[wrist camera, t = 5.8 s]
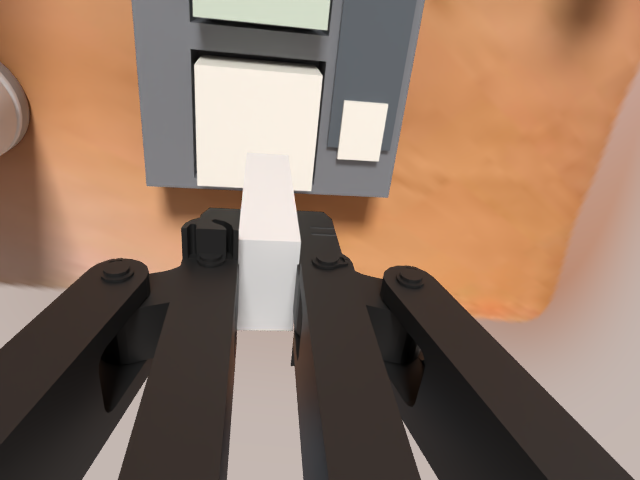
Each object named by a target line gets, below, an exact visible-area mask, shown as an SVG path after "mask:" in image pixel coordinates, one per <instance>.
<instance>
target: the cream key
mask: <svg viewBox="0 0 640 480" xmlns="http://www.w3.org/2000/svg"><path fill="white" fill-rule="evenodd" d="M194 75H195V114H196V153H197V186H213V187H234V188H243V185H244V175H245V165H246V155H247V153H262V154H278V155H288V156H289V163H290V170H291V177H292V184H293V190H295V191H311V188H312V178H313V168H314V158H315V148H316V138H317V128H318V118H319V108H320V98H321V88H322V78H323V75H322V74H321V73H320V71H319V70H318V68H317V67H316V66H315V65H310V64H299V63H288V62H277V61H266V60H255V59H244V58H234V57H223V56H212V55H201V56H200V58H199V59H198V60H197V62H196V63H195V64H194Z"/></svg>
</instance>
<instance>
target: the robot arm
mask: <svg viewBox="0 0 640 480" xmlns="http://www.w3.org/2000/svg"><path fill="white" fill-rule="evenodd" d="M181 233H182V256H183V259H182V262H181V266H179V267H177V268H174V269H172V270H168V271H164V272H158V273H152V274H149V271H148V268H147V266H146V265H145V264H143V263H142V262H140V261H137V260H133V259H123V258H118V259H111V260H107V261H104V262H101V263H99V264H96V265H95V266H93V267H92V268H90V269H89V270H88V271H87V272H85V273H84V274H83V275H82V276H81V277H80V278H79V279H78V280H77V281H75V282H74V283H73V284H72V285H71V286H70V287H69V288H68V289H66V290H65V291H64V292H63V293H62V294H61V295H60V296H59V297H58V298H57V299H55V300H54V301H53V302H52V303H51V304H50V305H49V306H48V307H47V308H45V309H44V310H43V311H42V312H41V313H40V314H39V315H38V316H36V317H35V318H34V319H33V320H32V321H31V322H30V323H29V324H28V325H26V326H25V327H24V328H23V329H22V330H21V331H20V332H19V333H18V334H16V335H15V336H14V337H13V338H12V339H11V340H10V341H9V342H7V343H6V344H5V345H4V346H3V347H2V348H1V349H0V480H82V479H83V477H84V475H85V474H86V472H87V471H88V469H89V468H90V466H91V465H92V463H93V461H94V460H95V458H96V457H97V455H98V454H99V452H100V450H101V449H102V447H103V446H104V444H105V443H106V441H107V440H108V438H109V436H110V435H111V433H112V431H113V430H114V428H115V427H116V425H117V424H118V422H119V421H120V419H121V418H122V416H123V414H124V413H125V411H126V410H127V408H128V407H129V405H130V404H131V402H132V400H133V399H134V397H135V396H136V394H137V392H138V391H139V389H140V388H141V386H142V385H143V383H144V382H145V380H146V378H147V377H148V379H147V382H146V385H145V389H144V392H143V396H142V399H141V402H140V406H139V409H138V413H137V416H136V420H135V423H134V427H133V430H132V434H131V437H130V440H129V443H128V447H127V451H126V454H125V457H124V461H123V464H122V468H121V471H120V474H119V478H118V480H227V469H228V455H229V440H230V426H231V413H232V399H233V385H234V372H235V357H236V344H237V330H249V331H259V330H260V331H293V323H294V338H293V348H292V360H291V366H295V376H296V388H297V402H298V415H299V428H300V440H301V453H302V466H303V479H304V480H421V478H420V475H419V472H418V469H417V466H416V463H415V459H414V456H413V453H412V450H411V447H410V444H409V440H408V437H407V434H406V431H405V428H404V425H403V422H404V423H405V425H406V426H407V428H408V430H409V431H410V433H411V435H412V436H413V438H414V440H415V441H416V443H417V445H418V446H419V448H420V450H421V451H422V453H423V455H424V456H425V458H426V459H427V461H428V463H429V464H430V466H431V468H432V469H433V471H434V473H435V474H436V476H437V478H438V479H439V480H634V479H633V478H632V477H631V476H630V475H629V474H628V473H627V472H626V471H625V470H624V469H623V468H622V467H621V466H620V465H619V464H618V463H617V462H616V461H615V460H614V459H613V458H612V457H611V456H610V455H609V454H608V453H607V452H606V451H605V450H604V449H603V448H602V447H601V445H600V444H598V443H597V441H596V440H595V439H593V437H592V436H591V435H590V434H589V433H588V432H587V431H586V430H584V429H583V428H582V426H581V425H580V424H579V423H578V422H577V421H576V420H575V419H574V418H573V417H572V416H571V415H570V414H569V413H568V412H567V411H566V410H565V409H564V408H563V407H562V406H561V405H560V404H559V403H558V402H557V401H556V400H555V399H554V398H553V397H552V396H551V395H550V394H549V393H548V392H547V391H546V390H545V389H544V388H543V387H542V386H541V385H540V384H539V383H538V382H537V381H536V380H535V379H534V378H533V377H532V376H531V375H530V374H529V373H528V372H527V371H526V370H525V369H524V368H523V367H522V366H521V365H520V364H519V363H518V362H517V361H516V360H515V359H514V358H513V357H512V356H511V355H510V354H509V353H508V352H507V351H506V350H505V349H504V348H503V347H502V346H501V345H500V344H499V343H498V342H497V341H496V340H495V339H494V338H493V337H492V336H491V335H490V334H489V333H488V332H487V331H486V330H485V329H484V328H483V327H482V326H481V325H480V324H479V323H478V322H477V321H476V320H475V319H474V318H473V317H472V316H471V315H470V314H469V313H468V312H467V311H466V310H465V309H464V308H463V307H462V306H461V305H460V304H459V303H458V302H457V301H456V300H455V299H454V297H453V296H452V295H451V294H450V293H449V292H448V291H447V290H446V289H445V288H444V287H443V286H442V285H441V284H440V283H439V282H438V281H437V280H436V279H435V278H434V277H432V276H431V275H430V274H428V273H427V272H425V271H423V270H420V269H418V268H416V267H411V266H395V267H391V268H389V269H387V270H386V271H385V272H384V276H383V279H380V278H375V277H370V276H367V275H363V274H360V273H358V272H356V271H355V270H354V266H353V263H352V262H351V260H350V259H349V258H348V257H346V256H345V255H343V254H342V253H341V249H340V246H339V242H338V239H337V236H336V232H335V229H334V225H333V222H332V219H331V218H330V217H328V216H327V215H326V214H325V213H324V212H313V211H296V204H295V197H294V191H293V184H292V177H291V170H290V163H289V156H288V155H278V154H262V153H247V155H246V165H245V175H244V185H243V194H242V204H241V209H224V208H209V209H208V210H206V211H205V212H204V213H203V214H201V217H200V218H197V219H193V220H191V221H189V222H187V223H185V224H184V225H183V226H182V228H181ZM402 420H403V422H402Z"/></svg>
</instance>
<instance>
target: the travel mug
mask: <svg viewBox="0 0 640 480" xmlns="http://www.w3.org/2000/svg"><path fill="white" fill-rule="evenodd" d="M29 114H30V112H29V106H28V101H27V98H26V96H25V93H24V91H23V89H22V87H21V85H20V84H19V82H18V80H17V79H16V78H15V77H14V75H13V74H12V73H11V72H10V70H9V69H8V68H6V67H5V66H4V65H3V64H2V63H1V62H0V156H1V155H2V154H4V153H5V152H7V151H8V150H10V149H11V148H13V147H14V146H15V145H16V144H18V143H19V142H20V141H21V140H22V138H23V136H24V135H25V133H26V131H27V128H28V124H29Z"/></svg>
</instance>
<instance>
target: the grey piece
mask: <svg viewBox="0 0 640 480" xmlns="http://www.w3.org/2000/svg"><path fill="white" fill-rule="evenodd" d="M424 2H425V0H330V8H329V18H328V28H327V30H318V29H309V28H299V27H289V26H280V25H270V24H260V23H251V22H241V21H231V20H222V19H212V18H202V17H193V0H132V11H133V24H134V36H135V48H136V60H137V73H138V85H139V97H140V110H141V122H142V134H143V146H144V159H145V171H146V183H147V186H156V187H177V188H198V189H218V190H239V191H243V188H234V187H213V186H197V153H196V114H195V75H194V64H195V63H196V62H197V60H198V59H199V58H200V56H201V55H212V56H223V57H234V58H244V59H255V60H266V61H277V62H288V63H299V64H310V65H315V66H316V67H317V68H318V70H319V71H320V73H321V74H322V75H323V78H322V88H321V98H320V108H319V118H318V128H317V138H316V148H315V158H314V168H313V178H312V188H311V191H295V190H293V191H294V193H302V194H322V195H343V196H364V197H385V198H388V195H389V190H390V184H391V179H392V174H393V168H394V163H395V157H396V152H397V147H398V141H399V136H400V131H401V125H402V120H403V115H404V109H405V104H406V98H407V93H408V88H409V82H410V77H411V72H412V66H413V61H414V56H415V50H416V45H417V39H418V34H419V29H420V23H421V18H422V13H423V7H424Z"/></svg>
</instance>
